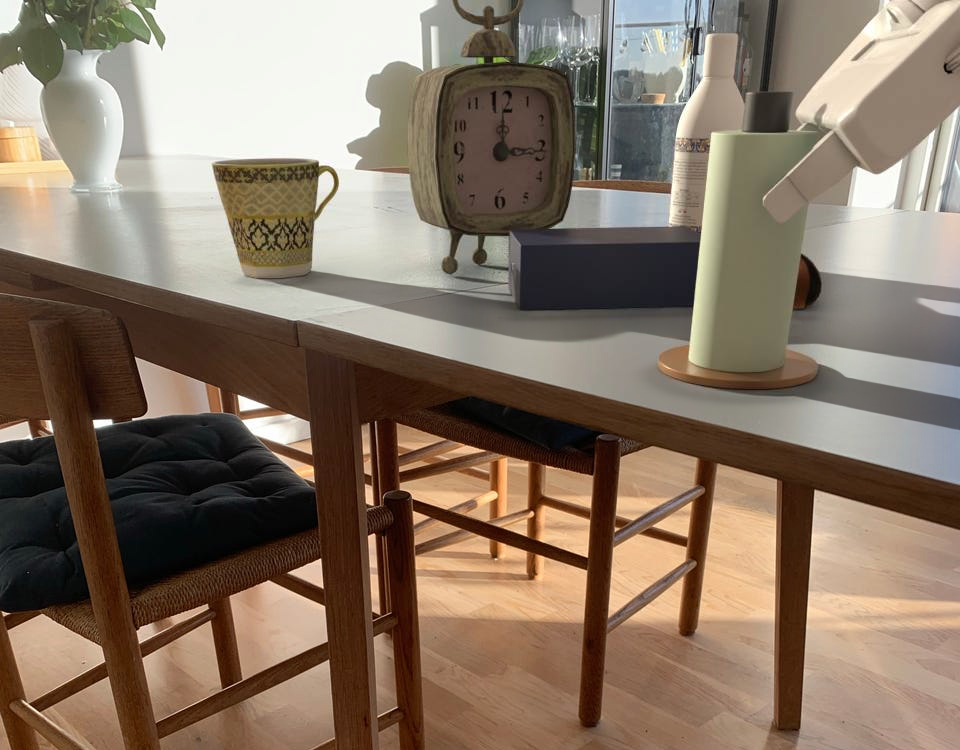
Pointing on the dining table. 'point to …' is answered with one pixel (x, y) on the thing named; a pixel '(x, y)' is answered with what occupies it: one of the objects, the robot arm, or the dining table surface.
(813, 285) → the sunglasses case
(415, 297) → the dining table surface
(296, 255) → the ceramic cup
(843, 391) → the dining table surface
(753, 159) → the bottle
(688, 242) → the navy case
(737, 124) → the bath foam
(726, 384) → the coaster
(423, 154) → the tabletop clock
